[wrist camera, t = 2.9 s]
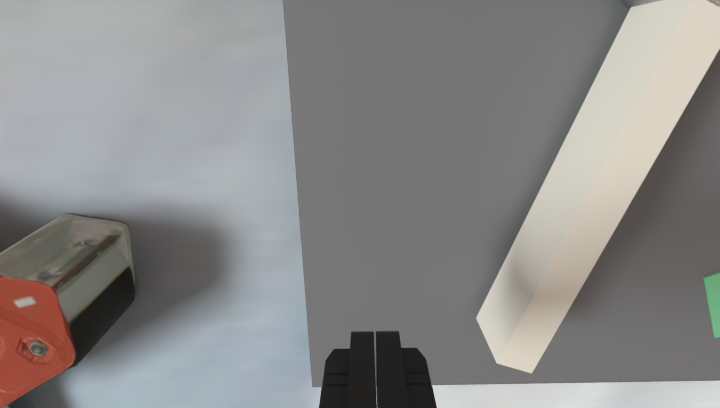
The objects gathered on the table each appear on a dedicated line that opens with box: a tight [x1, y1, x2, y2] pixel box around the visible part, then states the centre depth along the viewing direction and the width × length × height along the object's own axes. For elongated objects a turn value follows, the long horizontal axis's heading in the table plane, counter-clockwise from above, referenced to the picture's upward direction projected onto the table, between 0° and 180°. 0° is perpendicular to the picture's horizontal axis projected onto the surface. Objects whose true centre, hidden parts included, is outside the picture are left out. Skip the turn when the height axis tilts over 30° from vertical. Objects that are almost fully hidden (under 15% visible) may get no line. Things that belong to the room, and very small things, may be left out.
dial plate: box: [283, 0, 720, 387], centre depth 17 cm, size 22×28×2 cm
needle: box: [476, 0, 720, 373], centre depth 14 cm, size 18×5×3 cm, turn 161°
